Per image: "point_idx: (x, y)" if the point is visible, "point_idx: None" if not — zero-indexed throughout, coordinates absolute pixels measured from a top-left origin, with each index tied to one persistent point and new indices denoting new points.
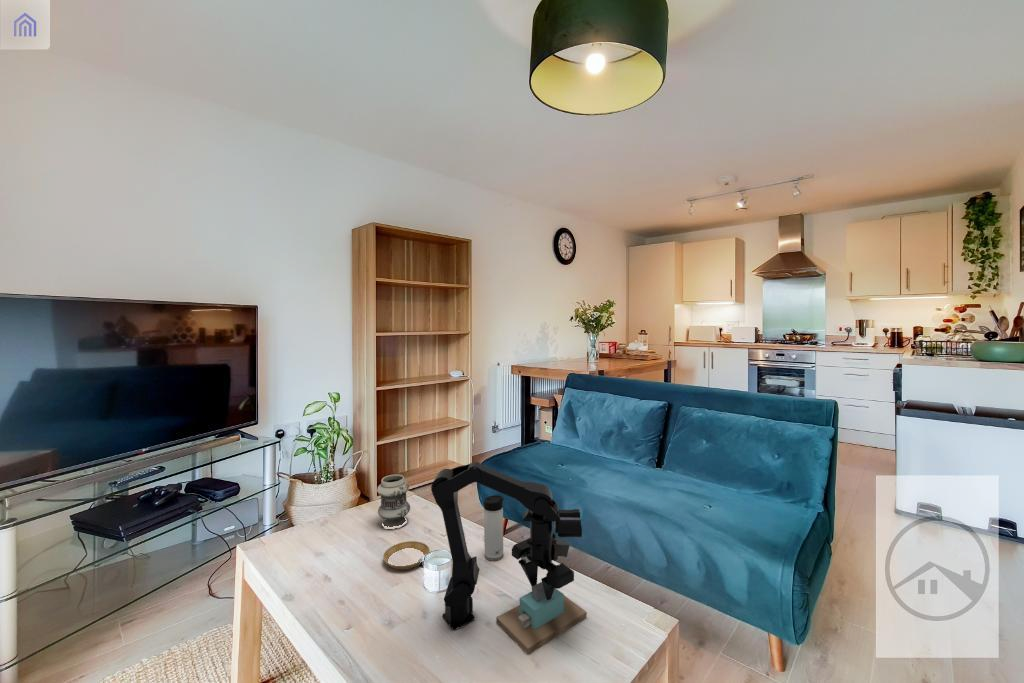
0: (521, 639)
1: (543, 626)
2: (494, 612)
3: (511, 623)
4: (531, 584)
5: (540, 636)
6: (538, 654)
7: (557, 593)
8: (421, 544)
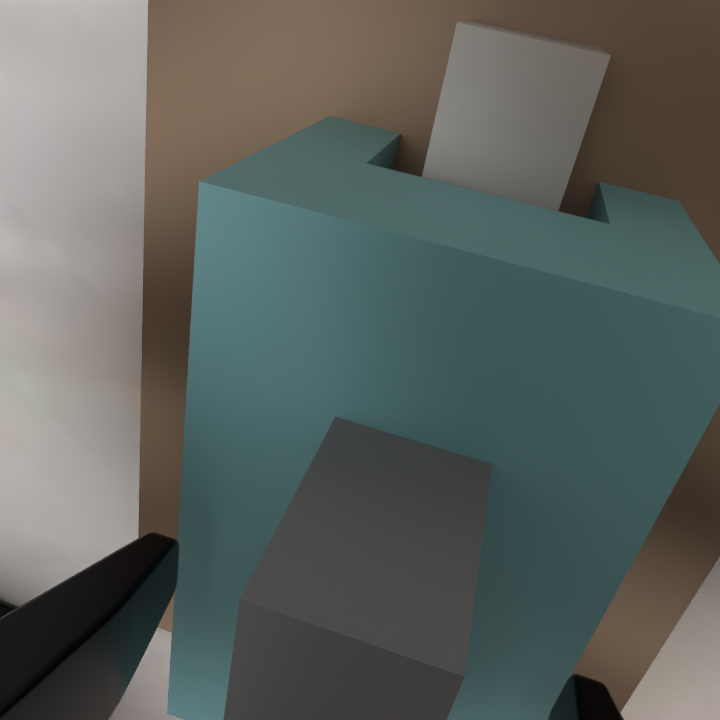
0: None
1: None
2: (60, 504)
3: None
4: (111, 697)
5: (607, 653)
6: (657, 699)
7: (597, 379)
8: None
